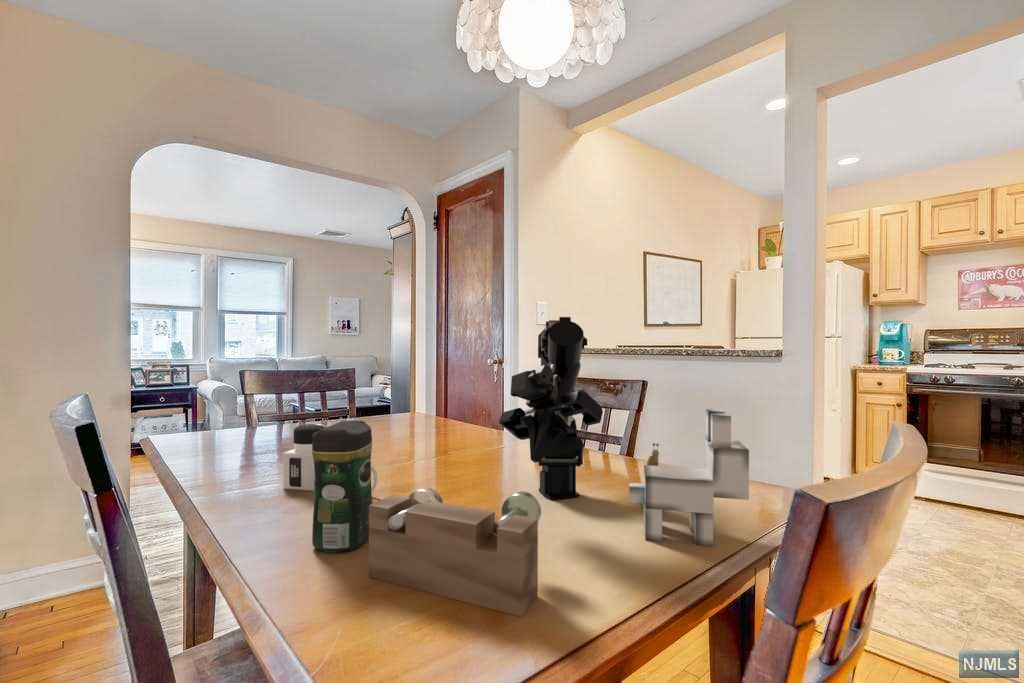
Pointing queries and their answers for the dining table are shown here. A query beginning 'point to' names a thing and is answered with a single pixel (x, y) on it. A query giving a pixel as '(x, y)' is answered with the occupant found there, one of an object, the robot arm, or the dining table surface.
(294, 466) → the container
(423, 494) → the silver rounded piece
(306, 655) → the dining table surface
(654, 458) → the snail figurine
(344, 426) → the coffee jar
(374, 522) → the block
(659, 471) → the toy llama
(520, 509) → the knob sage
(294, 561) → the dining table surface
